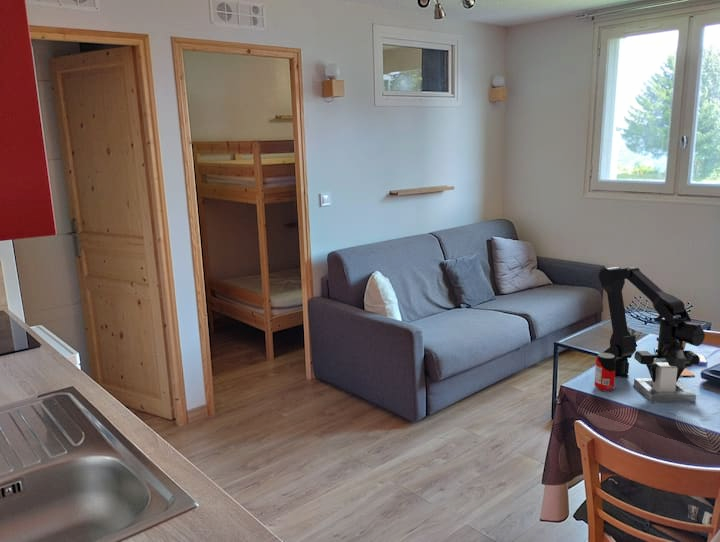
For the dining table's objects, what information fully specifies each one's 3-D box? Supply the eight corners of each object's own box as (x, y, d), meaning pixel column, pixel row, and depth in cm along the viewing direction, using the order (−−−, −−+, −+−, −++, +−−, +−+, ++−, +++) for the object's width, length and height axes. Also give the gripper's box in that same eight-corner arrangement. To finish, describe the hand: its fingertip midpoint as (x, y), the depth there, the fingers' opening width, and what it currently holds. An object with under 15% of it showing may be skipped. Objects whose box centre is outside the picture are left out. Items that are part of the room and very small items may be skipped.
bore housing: (651, 401, 184) (652, 394, 183) (633, 385, 197) (634, 378, 197) (695, 402, 183) (696, 394, 183) (674, 385, 197) (675, 378, 196)
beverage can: (615, 392, 191) (617, 359, 189) (595, 391, 193) (597, 357, 191) (612, 385, 197) (615, 352, 195) (593, 383, 199) (595, 351, 197)
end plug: (659, 396, 188) (661, 367, 186) (652, 390, 193) (654, 362, 191) (674, 396, 188) (677, 367, 186) (667, 390, 193) (670, 362, 191)
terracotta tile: (668, 376, 204) (669, 375, 204) (657, 367, 213) (657, 366, 213) (694, 376, 203) (695, 375, 203) (682, 367, 212) (682, 366, 212)
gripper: (650, 345, 179) (646, 391, 182) (711, 345, 178) (706, 391, 181) (635, 334, 190) (631, 378, 193) (693, 334, 189) (688, 378, 192)
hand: (664, 381), depth 189 cm, fingers open, 7 cm apart
